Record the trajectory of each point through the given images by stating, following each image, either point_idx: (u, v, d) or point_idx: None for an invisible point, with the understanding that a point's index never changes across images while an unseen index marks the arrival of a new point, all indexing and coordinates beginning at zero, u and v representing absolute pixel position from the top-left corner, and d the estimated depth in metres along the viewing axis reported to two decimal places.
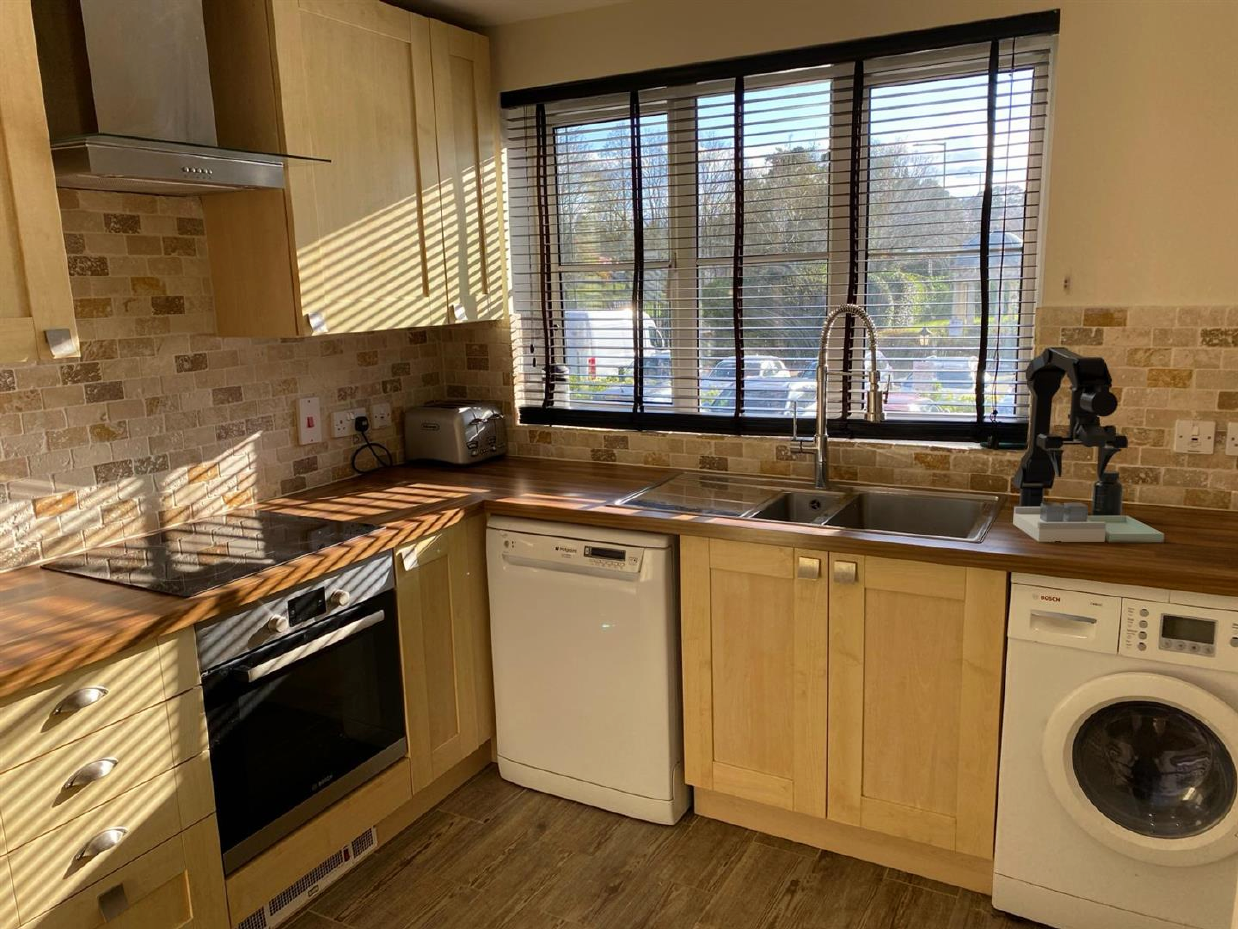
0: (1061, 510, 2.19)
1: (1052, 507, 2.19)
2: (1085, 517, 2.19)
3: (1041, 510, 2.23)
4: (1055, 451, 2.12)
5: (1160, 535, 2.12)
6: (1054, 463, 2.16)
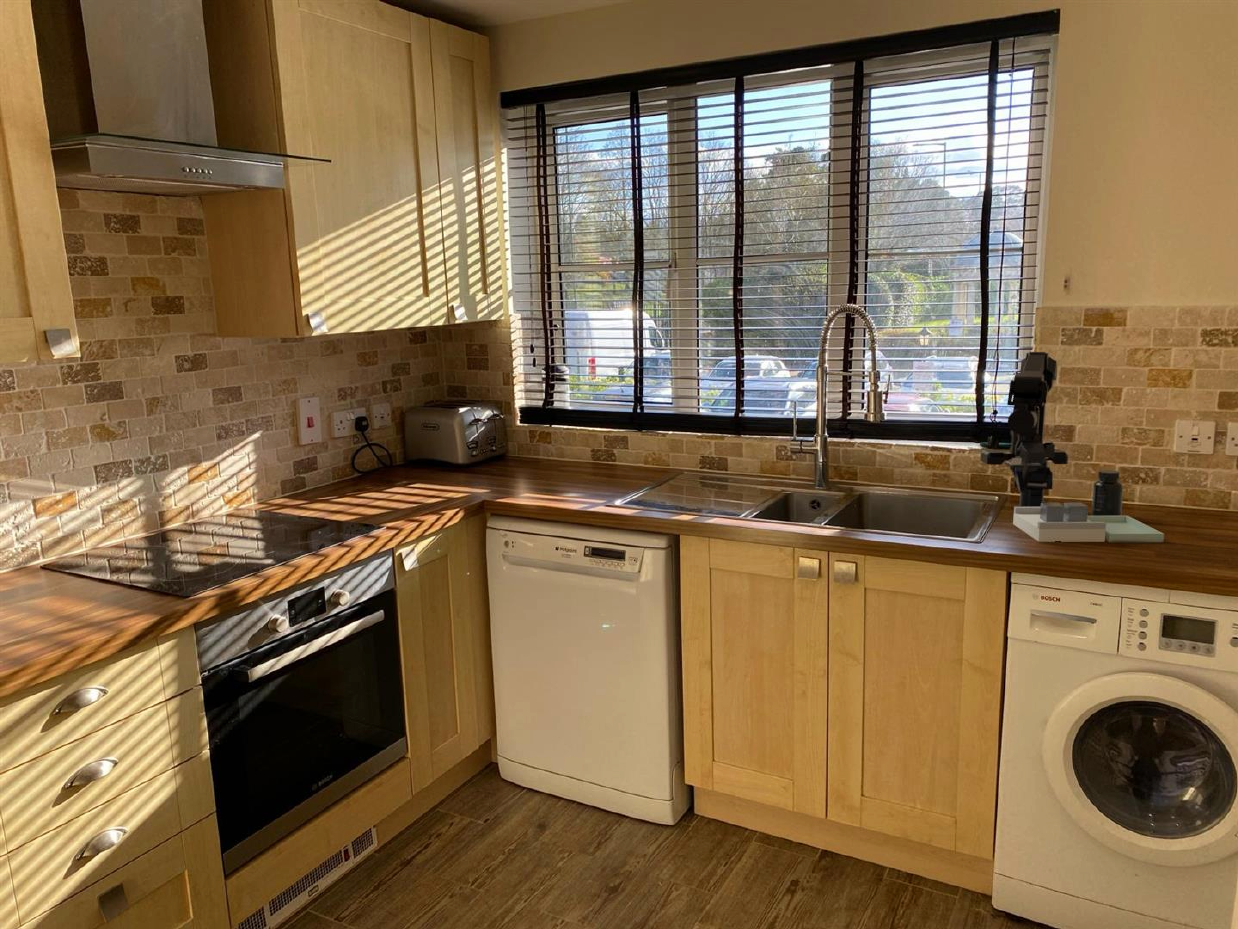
0: (1061, 510, 2.19)
1: (1052, 507, 2.19)
2: (1085, 517, 2.19)
3: (1041, 510, 2.23)
4: (1016, 467, 2.18)
5: (1160, 535, 2.12)
6: (1016, 478, 2.21)
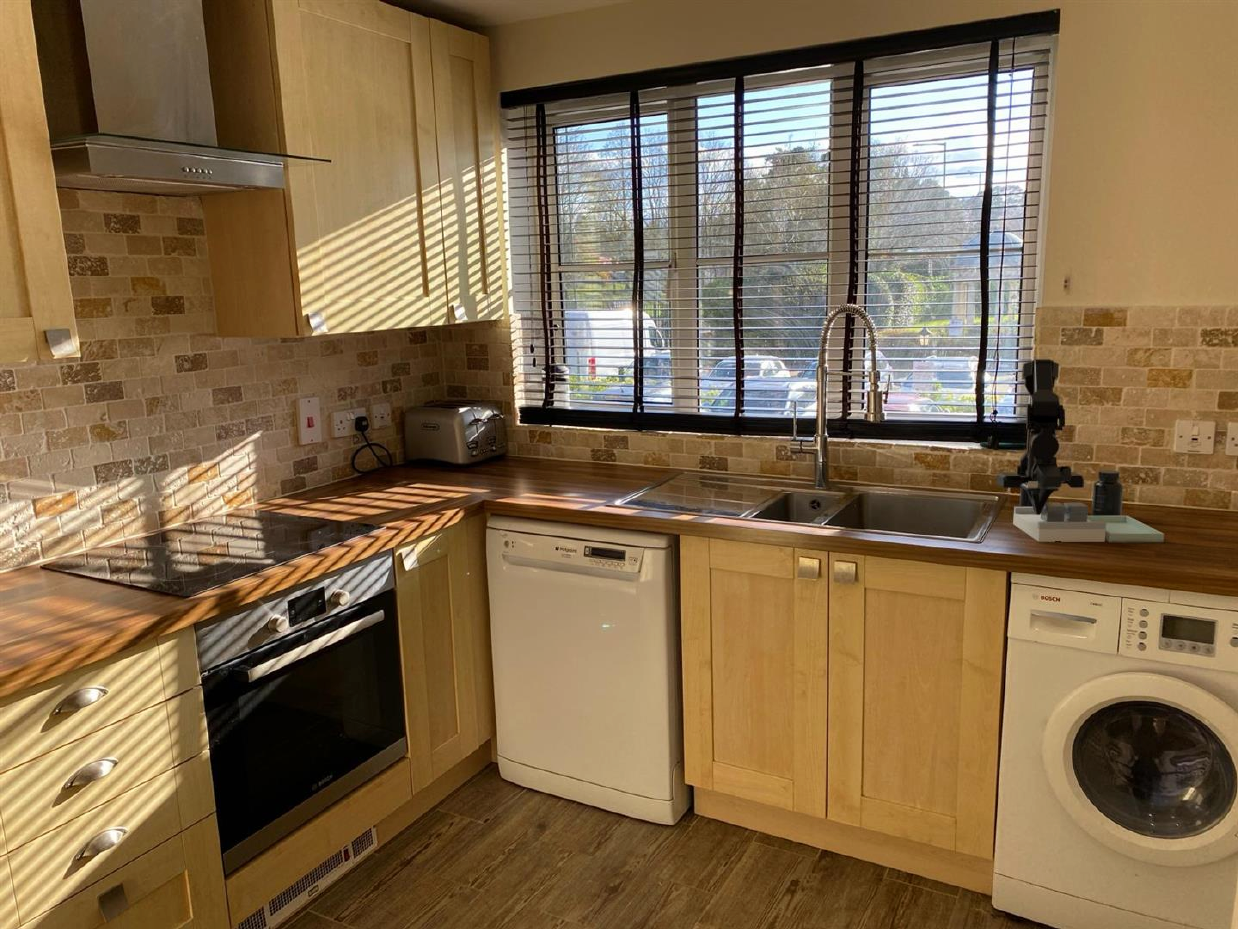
0: (1062, 510, 2.19)
1: (1052, 507, 2.19)
2: (1085, 517, 2.19)
3: (1042, 510, 2.23)
4: (1032, 490, 2.18)
5: (1160, 535, 2.12)
6: (1032, 501, 2.22)
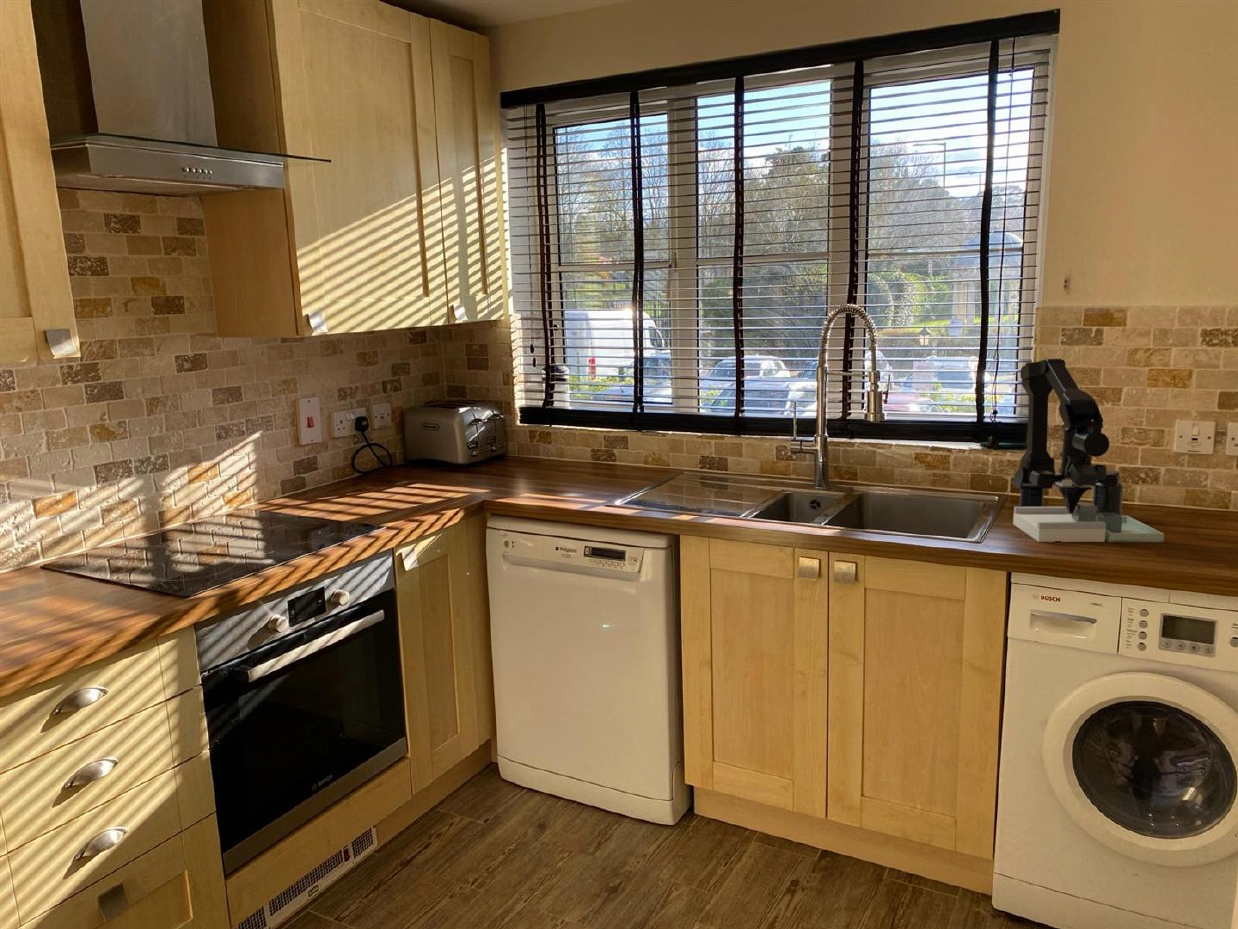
0: (1094, 511, 2.19)
1: (1085, 506, 2.19)
2: (1109, 530, 2.19)
3: None
4: (1066, 488, 2.18)
5: (1160, 535, 2.12)
6: (1065, 500, 2.21)
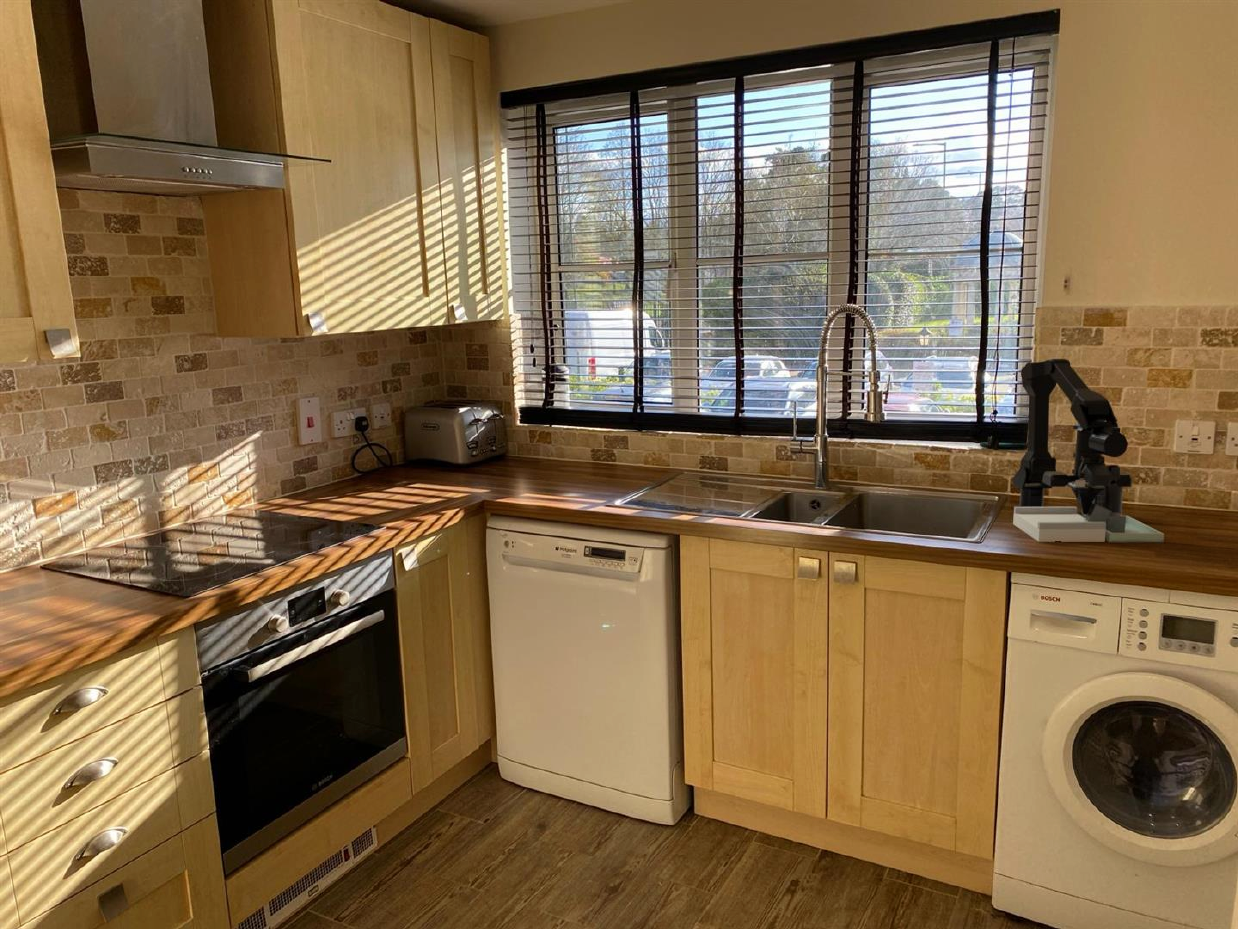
0: (1107, 514, 2.19)
1: (1099, 508, 2.18)
2: (1112, 530, 2.19)
3: None
4: (1080, 489, 2.17)
5: (1160, 535, 2.12)
6: (1078, 500, 2.21)
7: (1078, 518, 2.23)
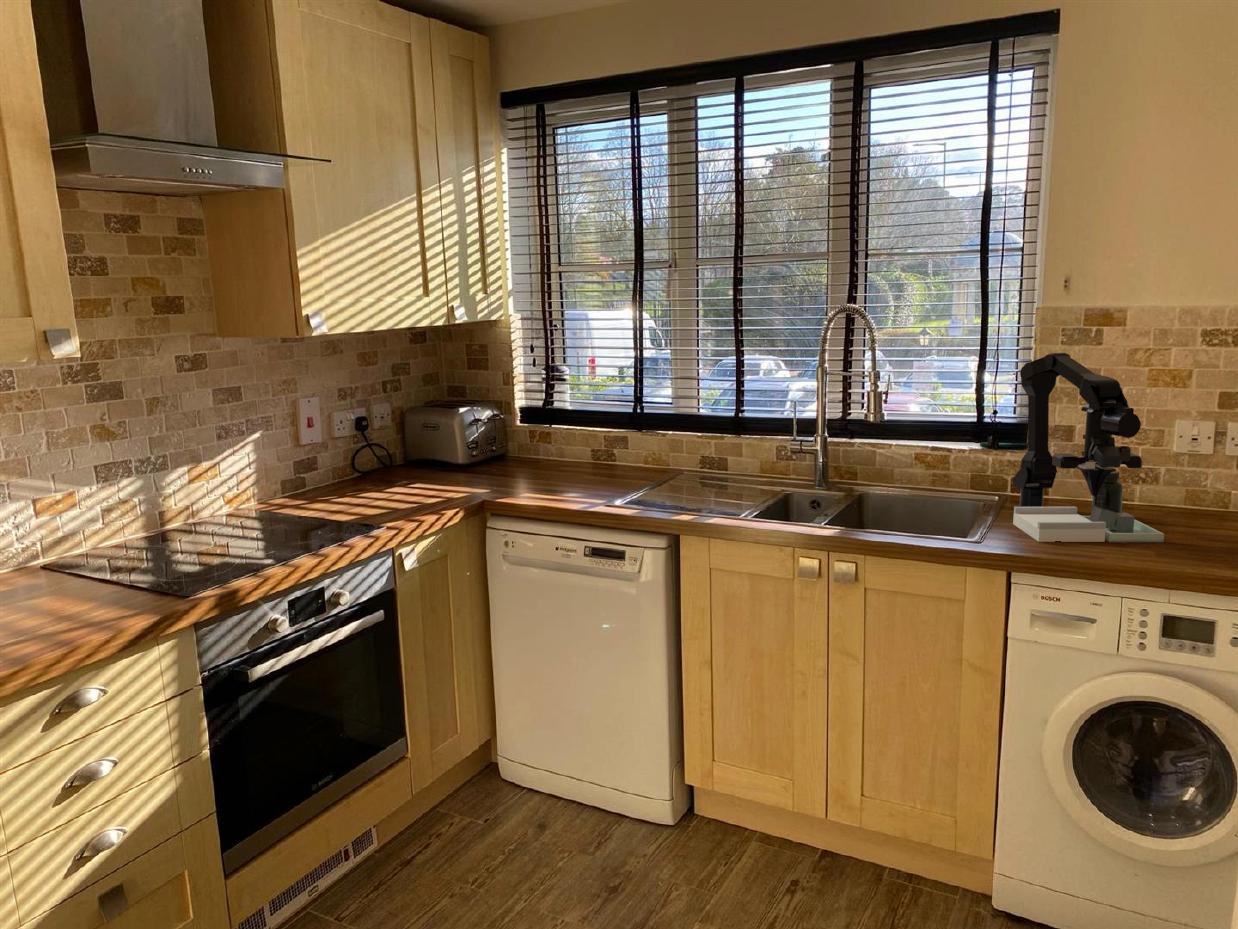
0: (1114, 518, 2.19)
1: (1106, 511, 2.18)
2: (1121, 531, 2.19)
3: (1093, 513, 2.22)
4: (1090, 471, 2.16)
5: (1160, 535, 2.12)
6: (1088, 482, 2.20)
7: (1078, 518, 2.23)
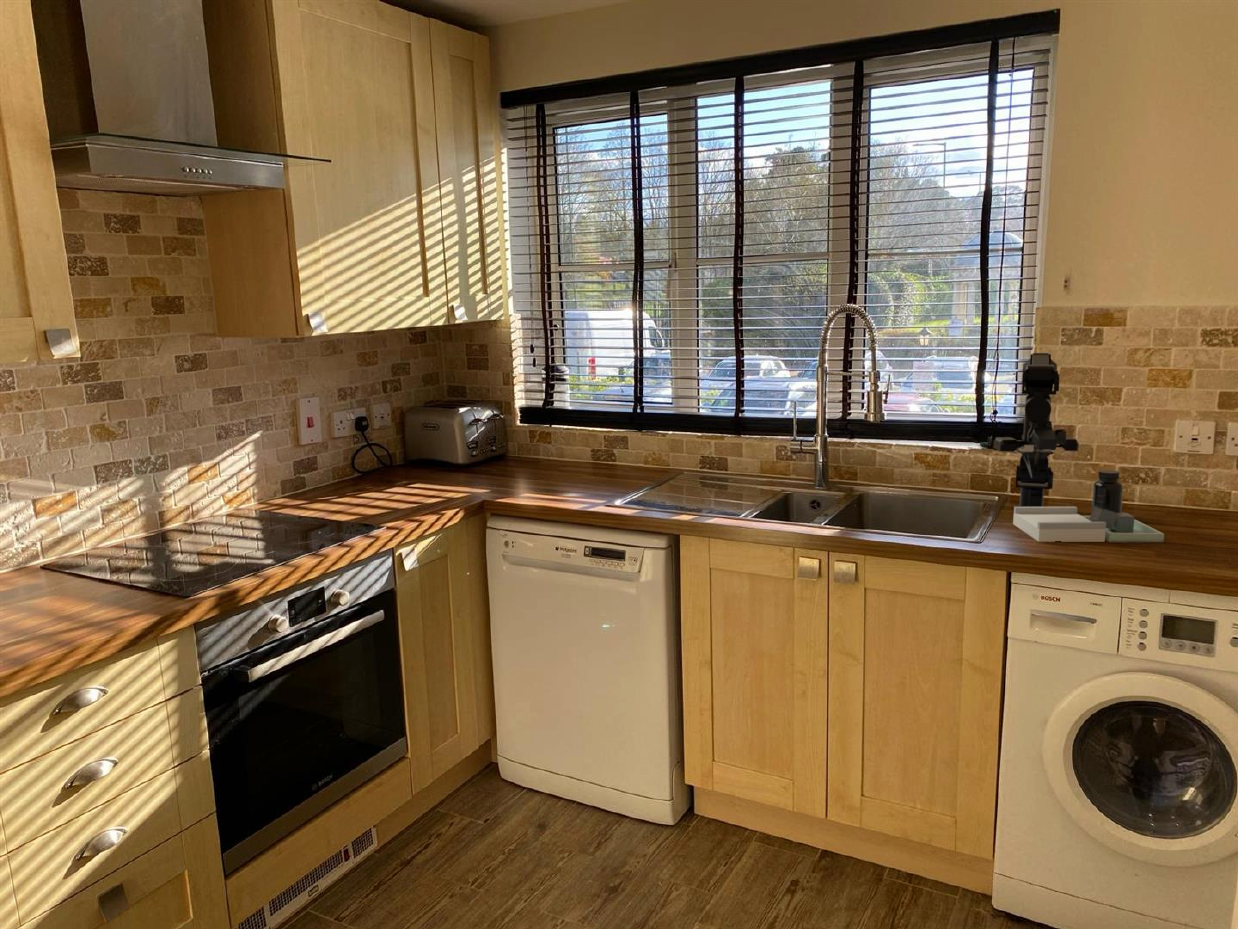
0: (1114, 518, 2.19)
1: (1106, 511, 2.18)
2: (1121, 531, 2.19)
3: (1093, 513, 2.22)
4: (1028, 453, 2.25)
5: (1160, 535, 2.12)
6: (1028, 465, 2.28)
7: (1078, 518, 2.23)
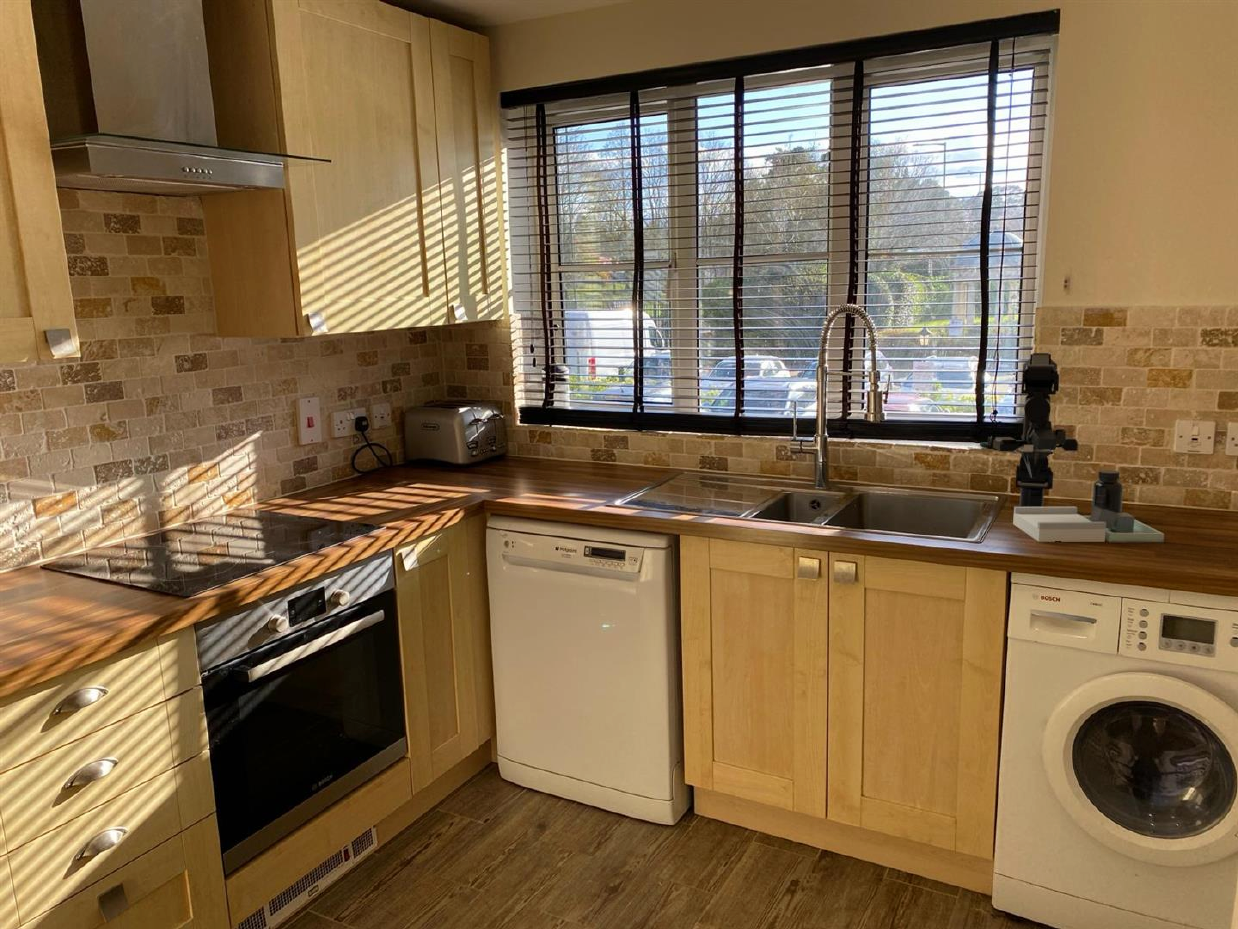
0: (1114, 518, 2.19)
1: (1106, 511, 2.18)
2: (1121, 531, 2.19)
3: (1093, 513, 2.22)
4: (1028, 453, 2.25)
5: (1160, 535, 2.12)
6: (1027, 465, 2.28)
7: (1078, 518, 2.23)
